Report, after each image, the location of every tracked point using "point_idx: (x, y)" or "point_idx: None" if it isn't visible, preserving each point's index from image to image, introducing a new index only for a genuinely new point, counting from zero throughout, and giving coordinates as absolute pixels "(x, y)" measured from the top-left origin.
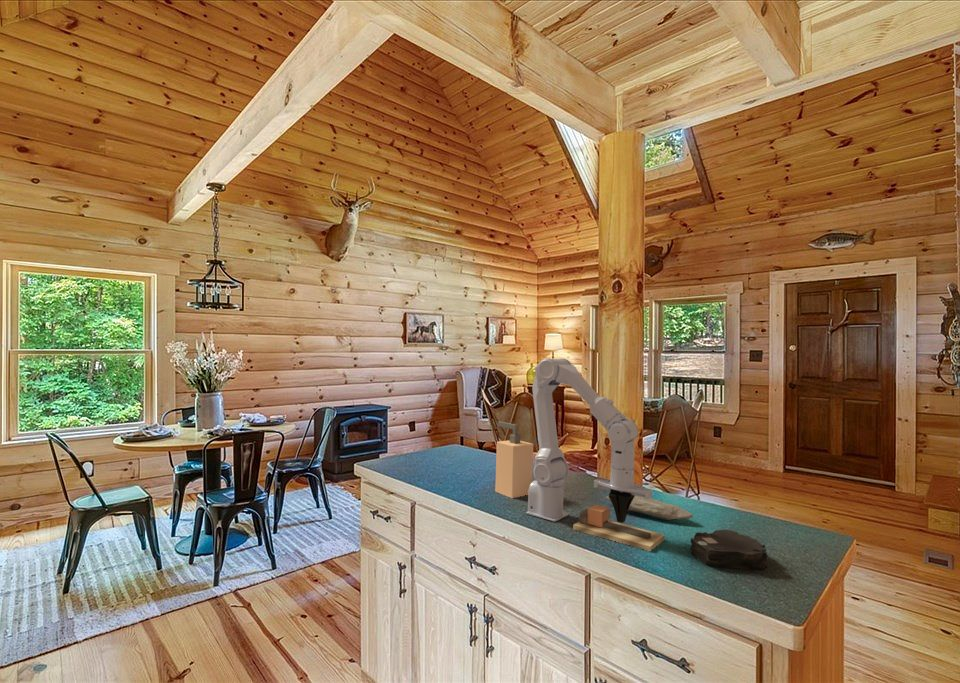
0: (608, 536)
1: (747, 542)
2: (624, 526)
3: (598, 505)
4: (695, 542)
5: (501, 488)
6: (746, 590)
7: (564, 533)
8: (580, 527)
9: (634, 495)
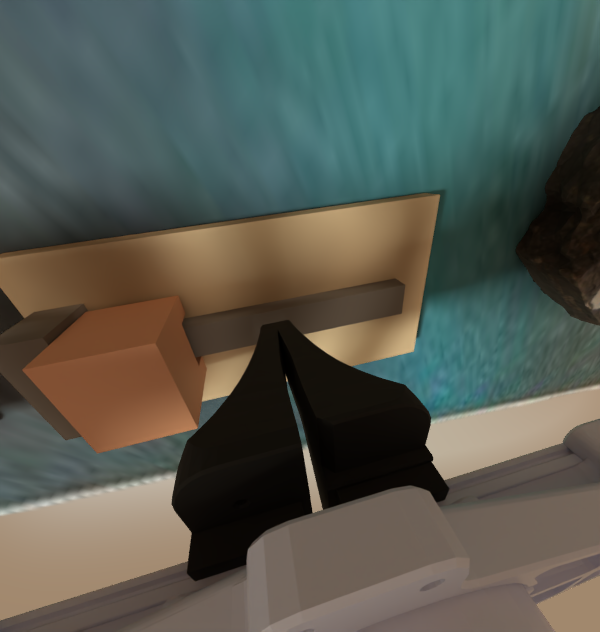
0: None
1: None
2: (285, 312)
3: (61, 369)
4: (581, 298)
5: None
6: (594, 338)
7: (137, 445)
8: None
9: (457, 488)
